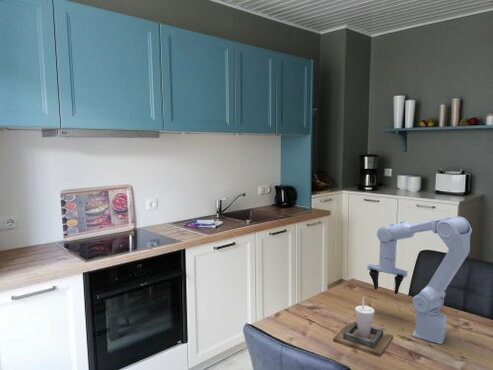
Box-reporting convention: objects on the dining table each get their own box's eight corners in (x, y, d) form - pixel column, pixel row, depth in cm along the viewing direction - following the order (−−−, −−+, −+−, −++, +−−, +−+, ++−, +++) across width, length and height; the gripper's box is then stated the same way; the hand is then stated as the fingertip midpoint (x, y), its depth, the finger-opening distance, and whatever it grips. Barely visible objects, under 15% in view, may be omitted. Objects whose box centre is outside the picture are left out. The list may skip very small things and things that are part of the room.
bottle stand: (392, 338, 129) (393, 329, 129) (380, 356, 118) (380, 347, 118) (348, 325, 139) (348, 317, 139) (333, 341, 128) (333, 332, 127)
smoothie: (356, 329, 134) (357, 292, 132) (375, 333, 131) (376, 295, 129) (352, 337, 128) (353, 298, 126) (372, 342, 125) (373, 302, 123)
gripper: (410, 257, 142) (408, 291, 143) (371, 251, 150) (370, 283, 152) (405, 262, 136) (403, 298, 138) (365, 255, 145) (364, 289, 146)
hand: (386, 290), depth 144 cm, fingers open, 7 cm apart
